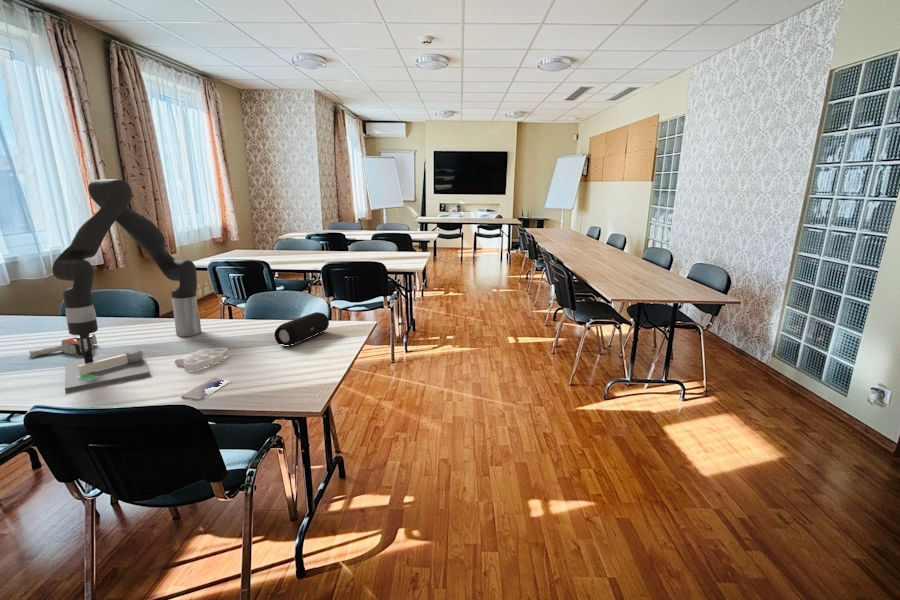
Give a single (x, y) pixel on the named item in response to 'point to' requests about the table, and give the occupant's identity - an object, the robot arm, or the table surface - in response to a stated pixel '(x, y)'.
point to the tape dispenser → (62, 347)
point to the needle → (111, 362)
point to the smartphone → (202, 390)
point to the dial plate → (103, 373)
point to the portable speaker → (301, 328)
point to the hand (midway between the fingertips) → (90, 367)
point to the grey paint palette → (202, 358)
